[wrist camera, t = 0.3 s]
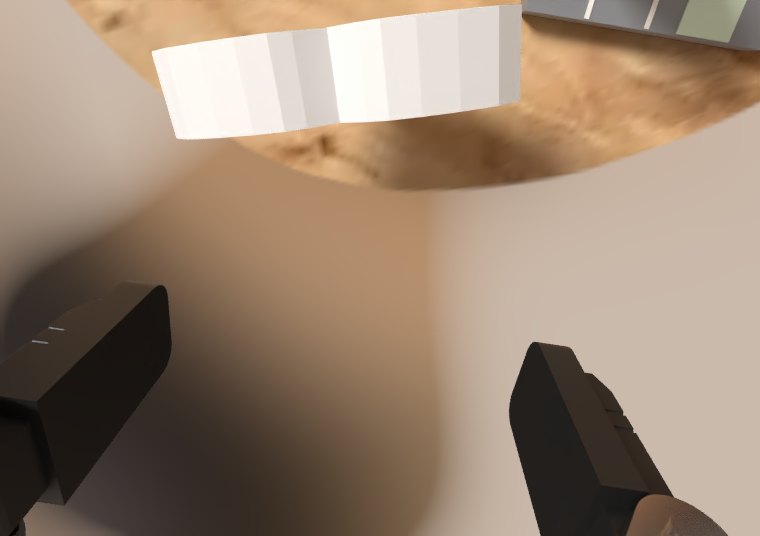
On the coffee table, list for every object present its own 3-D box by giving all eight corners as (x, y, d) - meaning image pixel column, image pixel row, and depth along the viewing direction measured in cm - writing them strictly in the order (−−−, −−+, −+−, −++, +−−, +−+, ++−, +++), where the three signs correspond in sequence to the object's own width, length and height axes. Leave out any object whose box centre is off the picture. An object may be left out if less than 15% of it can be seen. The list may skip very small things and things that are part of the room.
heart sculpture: (271, 114, 35) (155, 165, 19) (256, 42, 33) (111, 29, 17) (473, 92, 34) (539, 125, 17) (472, 15, 31) (544, -29, 15)
